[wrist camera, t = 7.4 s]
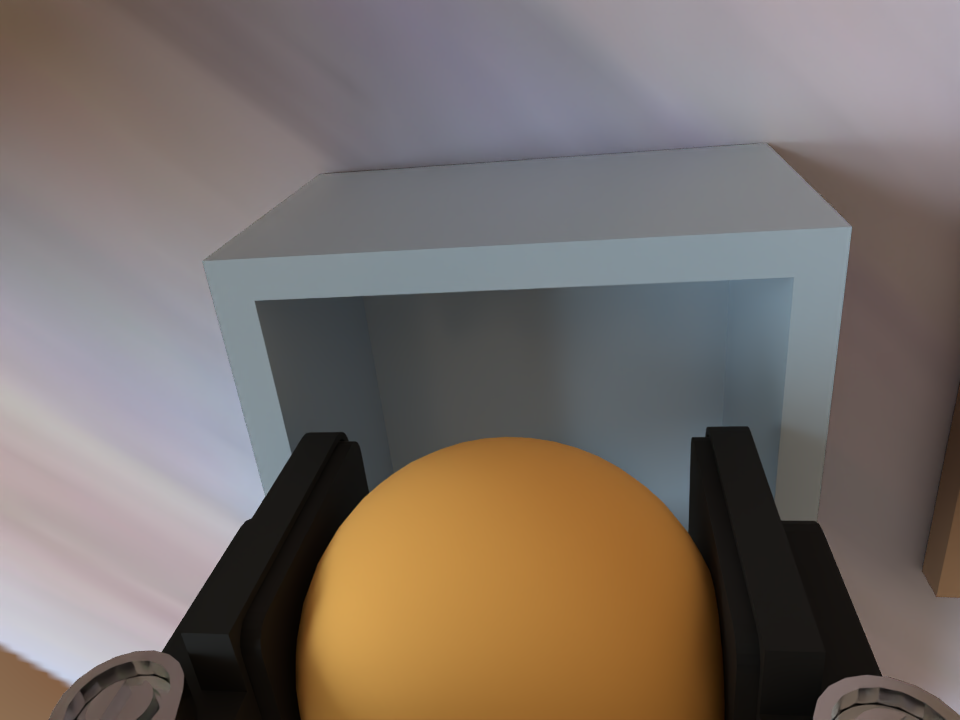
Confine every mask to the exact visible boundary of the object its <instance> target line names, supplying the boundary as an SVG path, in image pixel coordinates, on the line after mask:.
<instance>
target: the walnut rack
mask: <svg viewBox="0 0 960 720" xmlns="http://www.w3.org/2000/svg"><path fill="white" fill-rule="evenodd" d="M922 572H923V574H924V576H925V577H926V579H927V581H928V583H929V585H930V586H931V588H932V590H933V592H934V594H935V596H936V597H957V598H960V384H959V389H958V394H957V399H956V404H955V409H954V414H953V419H952V424H951V429H950V434H949V439H948V444H947V449H946V454H945V459H944V464H943V469H942V474H941V479H940V484H939V489H938V494H937V499H936V504H935V509H934V514H933V519H932V524H931V529H930V534H929V539H928V544H927V549H926V554H925V559H924V564H923V569H922Z"/></svg>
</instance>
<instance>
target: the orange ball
mask: <svg viewBox="0 0 960 720" xmlns="http://www.w3.org/2000/svg"><path fill="white" fill-rule="evenodd" d="M296 693H297V699H298V706H299V713H300V718H301V720H724V717H725V698H724V671H723V655H722V644H721V634H720V624H719V614H718V608H717V601H716V595H715V589H714V585H713V581H712V577H711V573H710V570H709V568H708V566H707V565H706V563H705V561H704V559H703V557H702V555H701V553H700V551H699V550H698V548H697V546H696V545H695V543H694V541H693V540H692V538H691V536H690V535H689V533H688V532H687V531H686V529H685V528H684V527H683V526H682V524H681V523H680V522H679V521H678V520H677V518H676V517H675V516H674V515H673V514H672V512H671V511H670V510H669V509H668V508H667V506H666V505H665V504H664V503H663V502H662V501H661V500H660V499H659V498H658V497H657V496H656V495H654V494H653V493H652V492H651V491H650V490H649V489H648V488H647V487H646V486H644V485H643V484H641V483H640V482H639V481H637V480H636V479H635V478H633V477H632V476H630V475H629V474H628V473H626V472H625V471H623V470H622V469H620V468H619V467H617V466H616V465H614V464H612V463H610V462H608V461H606V460H604V459H602V458H601V457H599V456H596V455H594V454H591V453H589V452H586V451H584V450H581V449H579V448H576V447H572V446H569V445H565V444H561V443H558V442H554V441H548V440H541V439H535V438H523V437H496V438H483V439H478V440H472V441H467V442H462V443H459V444H455V445H452V446H449V447H446V448H443V449H440V450H438V451H435V452H433V453H430V454H428V455H426V456H424V457H422V458H420V459H417V460H415V461H413V462H411V463H409V464H408V465H406V466H405V467H403V468H401V469H400V470H398V471H397V472H395V473H394V474H392V475H391V476H390V477H388V478H387V479H386V480H384V481H383V482H382V483H380V484H379V485H378V486H377V487H376V488H375V489H373V490H372V491H371V492H370V493H369V494H368V495H367V496H365V497H364V498H363V499H362V501H361V502H360V503H359V504H358V505H357V506H356V508H355V509H354V510H353V511H352V512H351V514H350V515H349V516H348V517H347V518H346V520H345V521H344V522H343V523H342V524H341V525H340V527H339V528H338V530H337V531H336V533H335V535H334V536H333V538H332V540H331V542H330V543H329V545H328V547H327V548H326V550H325V552H324V554H323V555H322V557H321V559H320V561H319V562H318V564H317V567H316V570H315V573H314V575H313V578H312V581H311V584H310V586H309V589H308V592H307V595H306V597H305V600H304V603H303V608H302V613H301V619H300V624H299V630H298V636H297V645H296Z"/></svg>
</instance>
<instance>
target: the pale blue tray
mask: <svg viewBox="0 0 960 720" xmlns="http://www.w3.org/2000/svg"><path fill="white" fill-rule="evenodd" d="M851 232H852V226H851V225H850V224H849V223H848V222H847V221H846V220H845V219H844V218H843V217H842V216H841V215H840V214H839V213H838V212H837V211H836V210H835V209H834V208H833V207H832V206H831V205H830V204H828V203H827V202H826V201H825V200H824V199H823V198H822V197H821V196H820V195H819V194H818V193H817V192H816V191H815V190H814V189H813V188H812V187H811V186H810V185H809V184H808V183H807V182H806V181H805V180H804V179H803V178H802V177H801V176H800V175H799V174H798V173H797V172H796V171H795V170H794V169H793V168H792V167H791V166H790V165H789V164H788V163H787V162H786V161H785V160H784V159H783V158H782V157H781V156H780V155H779V154H778V153H777V152H776V151H775V150H774V149H773V148H771V147H770V146H769V145H768V144H767V143H757V144H743V145H729V146H714V147H700V148H686V149H672V150H657V151H643V152H629V153H615V154H600V155H586V156H572V157H558V158H544V159H529V160H515V161H501V162H487V163H472V164H458V165H444V166H430V167H416V168H401V169H387V170H373V171H359V172H344V173H330V174H319V175H318V176H316V177H315V178H314V179H312V180H311V181H310V182H308V183H307V184H306V185H304V186H303V187H302V188H300V189H299V190H298V191H296V192H295V193H294V194H292V195H291V196H289V197H288V198H287V199H285V200H284V201H283V202H281V203H280V204H279V205H277V206H276V207H275V208H273V209H272V210H271V211H269V212H268V213H267V214H265V215H264V216H262V217H261V218H260V219H258V220H257V221H256V222H254V223H253V224H252V225H250V226H249V227H248V228H246V229H245V230H244V231H242V232H241V233H240V234H238V235H237V236H235V237H234V238H233V239H231V240H230V241H229V242H227V243H226V244H225V245H223V246H222V247H221V248H219V249H218V250H217V251H215V252H214V253H213V254H211V255H210V256H208V257H207V258H206V259H204V260H203V261H202V262H203V265H204V269H205V273H206V277H207V280H208V284H209V288H210V292H211V295H212V299H213V303H214V307H215V310H216V314H217V318H218V321H219V325H220V329H221V333H222V336H223V340H224V344H225V348H226V351H227V355H228V359H229V363H230V366H231V370H232V374H233V377H234V381H235V385H236V389H237V392H238V396H239V400H240V404H241V407H242V411H243V415H244V419H245V422H246V426H247V430H248V433H249V437H250V441H251V445H252V448H253V452H254V456H255V460H256V463H257V467H258V471H259V475H260V478H261V482H262V486H263V489H264V493H265V497H266V495H267V493H268V492H269V490H270V488H271V487H272V485H273V484H274V482H275V480H276V479H277V477H278V476H279V474H280V472H281V471H282V469H283V468H284V466H285V464H286V463H287V461H288V459H289V458H290V456H291V455H292V453H293V451H294V450H295V448H296V447H297V445H298V443H299V442H300V440H301V439H302V437H303V436H304V435H305V434H306V433H309V432H344V433H345V434H346V436H347V437H348V440H349V441H356V442H358V444H359V446H360V449H361V453H362V458H363V463H364V468H365V474H366V479H367V484H368V489H369V493H370V492H371V491H372V490H373V489H375V488H376V487H377V486H378V485H379V484H380V483H382V482H383V481H384V480H386V479H387V478H388V477H390V476H391V475H392V474H394V473H395V472H397V471H398V470H400V469H401V468H403V467H405V466H406V465H408V464H409V463H411V462H413V461H415V460H417V459H420V458H422V457H424V456H426V455H428V454H430V453H433V452H435V451H438V450H440V449H443V448H446V447H449V446H452V445H455V444H459V443H462V442H467V441H472V440H478V439H483V438H496V437H523V438H535V439H541V440H548V441H554V442H558V443H561V444H565V445H569V446H572V447H576V448H579V449H581V450H584V451H586V452H589V453H591V454H594V455H596V456H599V457H601V458H602V459H604V460H606V461H608V462H610V463H612V464H614V465H616V466H617V467H619V468H620V469H622V470H623V471H625V472H626V473H628V474H629V475H630V476H632V477H633V478H635V479H636V480H637V481H639V482H640V483H641V484H643V485H644V486H646V487H647V488H648V489H649V490H650V491H651V492H652V493H653V494H654V495H656V496H657V497H658V498H659V499H660V500H661V501H662V502H663V503H664V504H665V505H666V506H667V508H668V509H669V510H670V511H671V512H672V514H673V515H674V516H675V517H676V518H677V520H678V521H679V522H680V523H681V524H682V526H683V527H684V528H685V529H686V531H687V532H688V525H689V489H690V453H691V439H692V437H705V433H706V428H707V427H717V426H748V427H749V429H750V431H751V434H752V437H753V440H754V442H755V445H756V448H757V451H758V454H759V457H760V460H761V463H762V466H763V469H764V472H765V475H766V478H767V481H768V484H769V487H770V489H771V492H772V495H773V498H774V501H775V504H776V507H777V510H778V513H779V516H780V519H781V520H782V521H816V522H817V518H818V510H819V501H820V493H821V484H822V476H823V468H824V459H825V451H826V442H827V434H828V426H829V417H830V409H831V400H832V392H833V384H834V375H835V367H836V358H837V350H838V342H839V333H840V325H841V316H842V308H843V299H844V291H845V283H846V274H847V266H848V257H849V249H850V241H851Z"/></svg>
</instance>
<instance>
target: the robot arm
mask: <svg viewBox="0 0 960 720" xmlns="http://www.w3.org/2000/svg"><path fill="white" fill-rule="evenodd" d="M368 494H369V489H368V484H367V479H366V474H365V468H364V463H363V458H362V453H361V449H360V446H359V444H358V442H356V441H349V440H348V437H347V436H346V434H345V433H344V432H309V433H306V434H305V435H304V436H303V437H302V439H301V440H300V442H299V443H298V445H297V447H296V448H295V450H294V451H293V453H292V455H291V456H290V458H289V459H288V461H287V463H286V464H285V466H284V468H283V469H282V471H281V472H280V474H279V476H278V477H277V479H276V480H275V482H274V484H273V485H272V487H271V488H270V490H269V492H268V493H267V495H266V497H265V498H264V500H263V501H262V503H261V505H260V506H259V508H258V509H257V511H256V513H255V514H254V516H253V517H252V519H249V520H247V521H246V522H245V523H244V524H243V525H242V526H241V527H240V529H239V530H238V532H237V534H236V535H235V537H234V538H233V540H232V542H231V543H230V545H229V546H228V548H227V549H226V551H225V553H224V554H223V556H222V557H221V559H220V561H219V562H218V564H217V565H216V567H215V568H214V570H213V572H212V573H211V575H210V576H209V578H208V580H207V581H206V583H205V584H204V586H203V587H202V589H201V591H200V592H199V594H198V595H197V597H196V599H195V600H194V602H193V603H192V605H191V606H190V608H189V610H188V611H187V613H186V614H185V616H184V618H183V619H182V621H181V622H180V624H179V625H178V627H177V629H176V630H175V632H174V633H173V635H172V637H171V638H170V640H169V641H168V643H167V644H166V646H165V648H164V649H163V651H162V652H158V651H154V650H153V651H135V652H131V653H128V654H124V655H120V656H117V657H114V658H112V659H110V660H108V661H106V662H104V663H102V664H100V665H98V666H96V667H94V668H93V669H92V670H90V671H89V672H87V673H86V674H85V675H83V676H82V677H80V678H79V679H78V680H77V681H76V682H75V683H74V684H73V685H72V686H71V687H70V688H69V689H68V690H67V691H66V692H65V693H64V694H63V695H62V697H61V699H60V700H59V702H58V703H57V705H56V706H55V708H54V710H53V711H52V713H51V716H50V718H49V720H301V718H300V713H299V706H298V699H297V693H296V645H297V636H298V630H299V624H300V619H301V613H302V608H303V603H304V600H305V597H306V595H307V592H308V589H309V586H310V584H311V581H312V578H313V575H314V573H315V570H316V567H317V564H318V562H319V561H320V559H321V557H322V555H323V554H324V552H325V550H326V548H327V547H328V545H329V543H330V542H331V540H332V538H333V536H334V535H335V533H336V531H337V530H338V528H339V527H340V525H341V524H342V523H343V522H344V521H345V520H346V518H347V517H348V516H349V515H350V514H351V512H352V511H353V510H354V509H355V508H356V506H357V505H358V504H359V503H360V502H361V501H362V499H363V498H364V497H365V496H367V495H368ZM688 533H689V535H690V536H691V538H692V540H693V541H694V543H695V545H696V546H697V548H698V550H699V551H700V553H701V555H702V557H703V559H704V561H705V563H706V565H707V566H708V568H709V570H710V573H711V577H712V581H713V585H714V589H715V595H716V601H717V608H718V614H719V624H720V634H721V644H722V655H723V671H724V698H725V717H724V720H960V716H959V715H958V714H957V713H956V712H955V711H954V710H952V709H951V708H950V707H949V706H948V705H946V704H945V703H944V702H943V701H942V700H940V699H939V698H937V697H936V696H934V695H932V694H930V693H928V692H926V691H925V690H923V689H921V688H919V687H917V686H915V685H912V684H909V683H906V682H903V681H900V680H897V679H894V678H891V677H882V675H881V672H880V670H879V667H878V665H877V662H876V660H875V658H874V655H873V653H872V650H871V648H870V645H869V643H868V640H867V638H866V636H865V633H864V631H863V628H862V626H861V623H860V621H859V618H858V616H857V614H856V611H855V609H854V606H853V604H852V601H851V599H850V596H849V594H848V591H847V589H846V587H845V584H844V582H843V579H842V577H841V574H840V572H839V569H838V567H837V565H836V562H835V560H834V557H833V555H832V552H831V550H830V547H829V545H828V543H827V540H826V538H825V535H824V533H823V531H822V529H821V527H820V525H819V524H818V523H817V522H816V521H782V520H781V519H780V516H779V513H778V510H777V507H776V504H775V501H774V498H773V495H772V492H771V489H770V487H769V484H768V481H767V478H766V475H765V472H764V469H763V466H762V463H761V460H760V457H759V454H758V451H757V448H756V445H755V442H754V440H753V437H752V434H751V431H750V429H749V427H748V426H717V427H707V428H706V433H705V437H692V439H691V453H690V489H689V525H688Z"/></svg>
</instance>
